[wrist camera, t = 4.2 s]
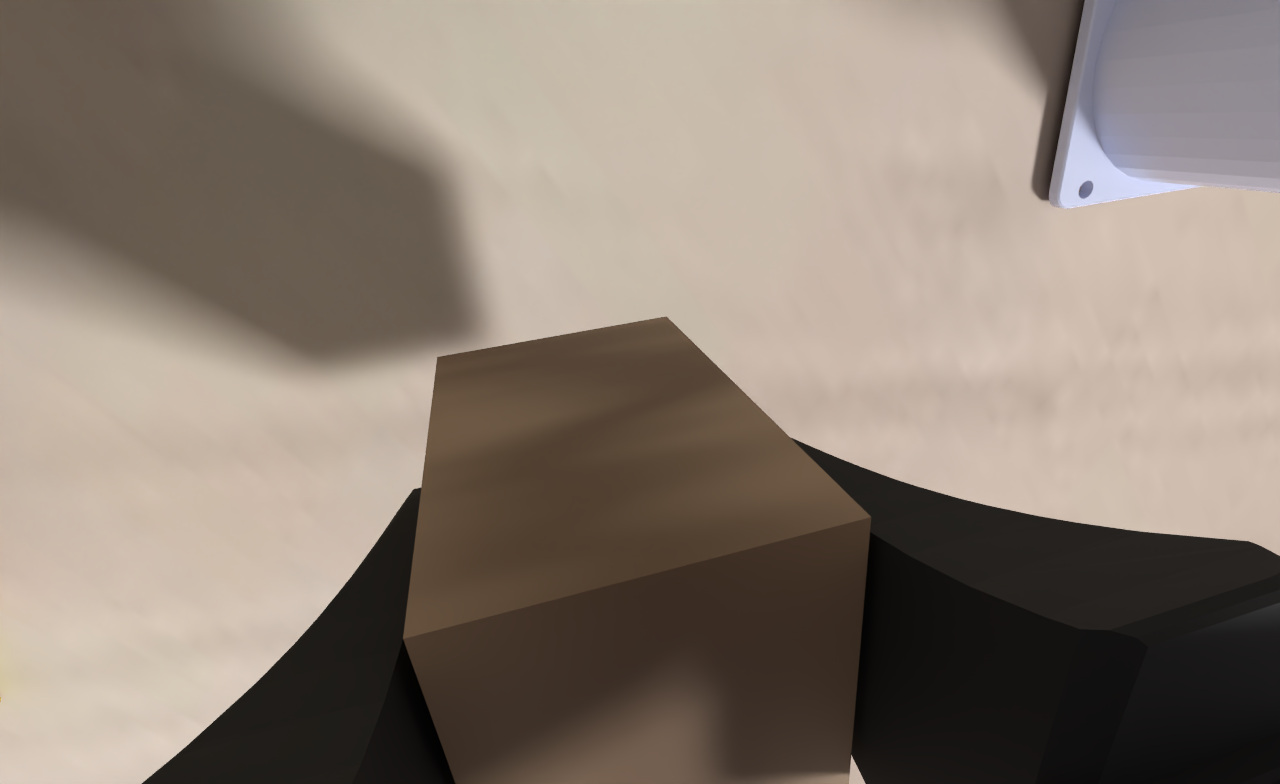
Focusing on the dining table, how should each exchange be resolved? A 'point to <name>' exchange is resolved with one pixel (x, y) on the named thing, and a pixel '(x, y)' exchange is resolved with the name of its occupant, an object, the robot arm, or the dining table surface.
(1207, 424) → the dining table surface
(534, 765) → the walnut block
